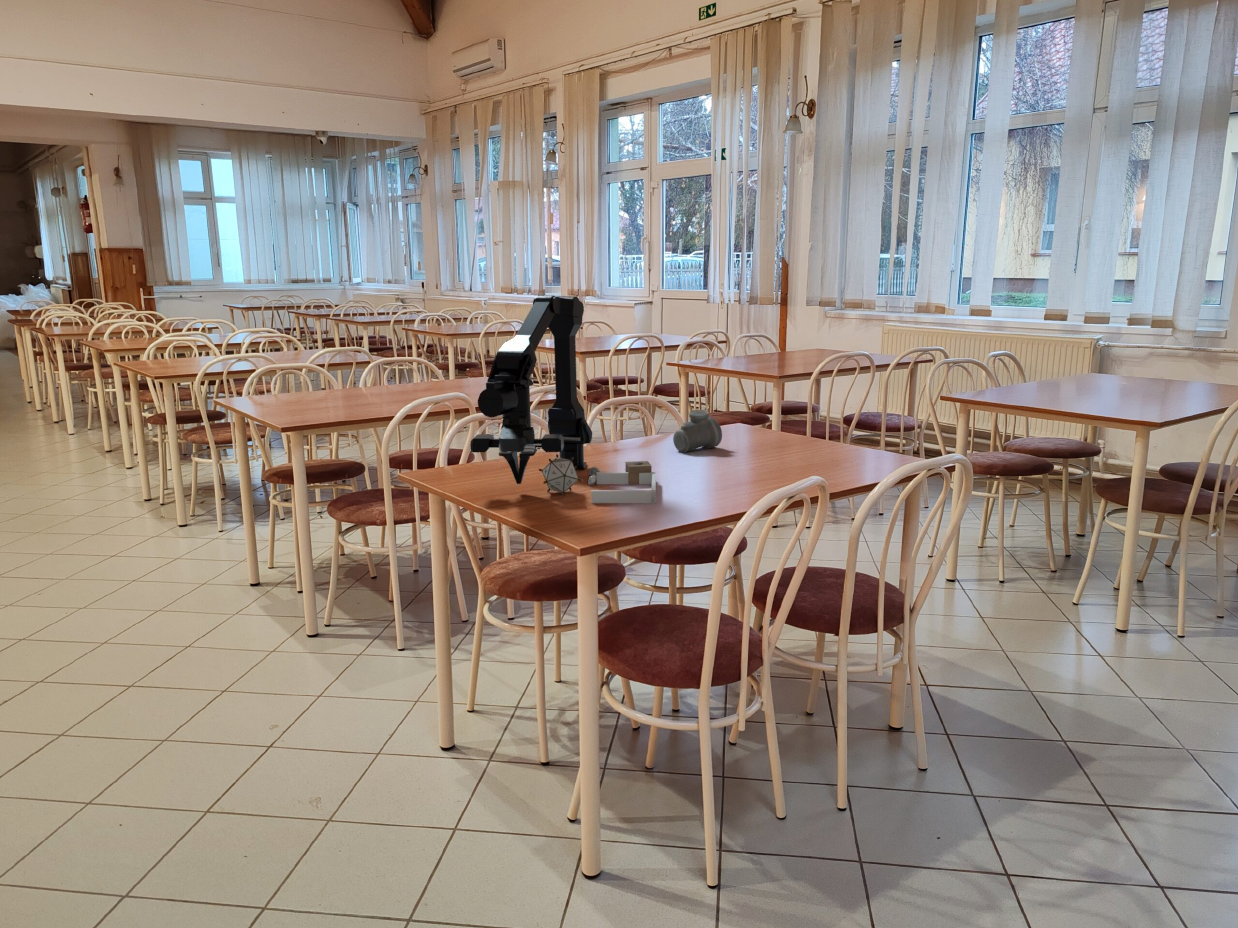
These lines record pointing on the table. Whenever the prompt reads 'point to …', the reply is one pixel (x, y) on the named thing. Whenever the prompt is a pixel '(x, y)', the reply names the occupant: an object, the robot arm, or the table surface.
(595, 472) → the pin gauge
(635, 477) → the drilled block
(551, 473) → the game die
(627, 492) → the tray
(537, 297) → the robot arm
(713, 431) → the pipe fitting
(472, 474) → the table surface
